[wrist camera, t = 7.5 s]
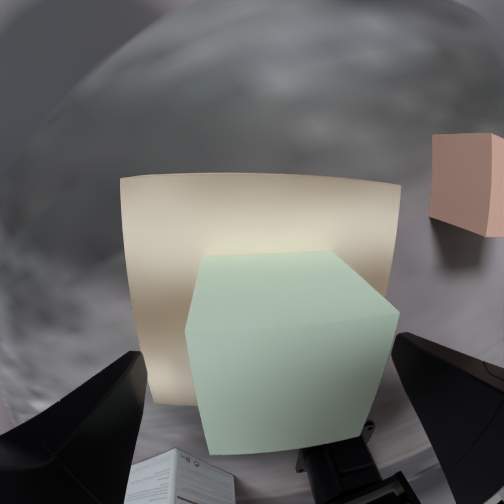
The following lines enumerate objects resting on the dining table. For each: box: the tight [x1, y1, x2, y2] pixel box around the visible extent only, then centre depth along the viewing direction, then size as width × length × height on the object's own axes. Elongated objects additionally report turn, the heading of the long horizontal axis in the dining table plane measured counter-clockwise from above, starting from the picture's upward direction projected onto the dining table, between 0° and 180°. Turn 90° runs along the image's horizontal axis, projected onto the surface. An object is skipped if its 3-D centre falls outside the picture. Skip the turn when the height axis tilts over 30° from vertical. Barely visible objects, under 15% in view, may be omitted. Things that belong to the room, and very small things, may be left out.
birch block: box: [120, 173, 401, 406], centre depth 13 cm, size 11×11×4 cm
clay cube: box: [429, 133, 504, 237], centre depth 12 cm, size 5×5×5 cm
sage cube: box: [185, 252, 400, 455], centre depth 9 cm, size 5×5×5 cm
